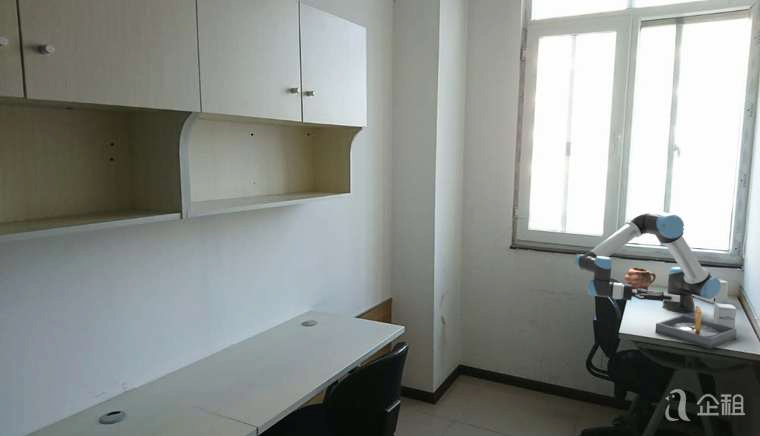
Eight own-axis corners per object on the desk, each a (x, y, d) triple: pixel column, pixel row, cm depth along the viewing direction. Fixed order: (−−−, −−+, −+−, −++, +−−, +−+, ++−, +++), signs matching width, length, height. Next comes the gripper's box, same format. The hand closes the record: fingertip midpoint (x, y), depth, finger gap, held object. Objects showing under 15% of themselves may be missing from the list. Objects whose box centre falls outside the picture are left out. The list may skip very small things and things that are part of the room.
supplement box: (715, 332, 243) (718, 306, 241) (712, 327, 250) (714, 302, 248) (734, 334, 240) (736, 308, 239) (729, 329, 247) (732, 304, 246)
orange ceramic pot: (645, 288, 322) (647, 266, 320) (660, 293, 310) (662, 270, 308) (618, 289, 317) (620, 267, 315) (632, 295, 305) (634, 272, 304)
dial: (673, 323, 250) (675, 298, 248) (714, 329, 242) (717, 303, 241) (675, 335, 234) (677, 308, 232) (719, 341, 226) (722, 314, 225)
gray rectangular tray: (681, 323, 255) (682, 314, 255) (735, 338, 235) (736, 329, 235) (655, 332, 242) (656, 323, 242) (709, 348, 222) (710, 338, 222)
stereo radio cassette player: (727, 304, 289) (730, 269, 286) (715, 305, 287) (718, 270, 284) (696, 294, 309) (699, 261, 306) (685, 295, 307) (688, 262, 304)
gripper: (622, 295, 252) (678, 303, 241) (621, 302, 240) (679, 310, 229) (624, 281, 251) (679, 287, 240) (623, 286, 239) (681, 294, 229)
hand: (679, 298), depth 235 cm, fingers closed
